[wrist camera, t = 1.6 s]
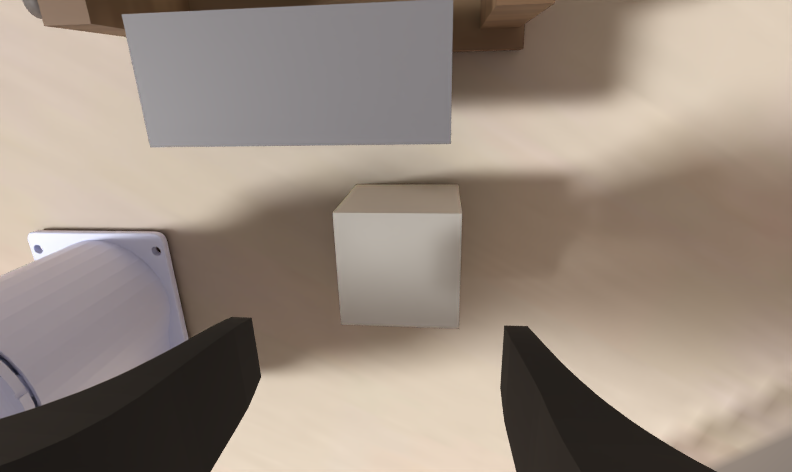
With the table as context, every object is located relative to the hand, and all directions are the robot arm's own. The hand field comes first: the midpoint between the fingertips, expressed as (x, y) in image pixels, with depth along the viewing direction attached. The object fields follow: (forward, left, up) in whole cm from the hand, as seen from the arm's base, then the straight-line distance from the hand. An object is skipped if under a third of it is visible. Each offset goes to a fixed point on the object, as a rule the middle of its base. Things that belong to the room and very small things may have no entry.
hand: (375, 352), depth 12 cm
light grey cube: (0, 0, -8) cm, 8 cm away
